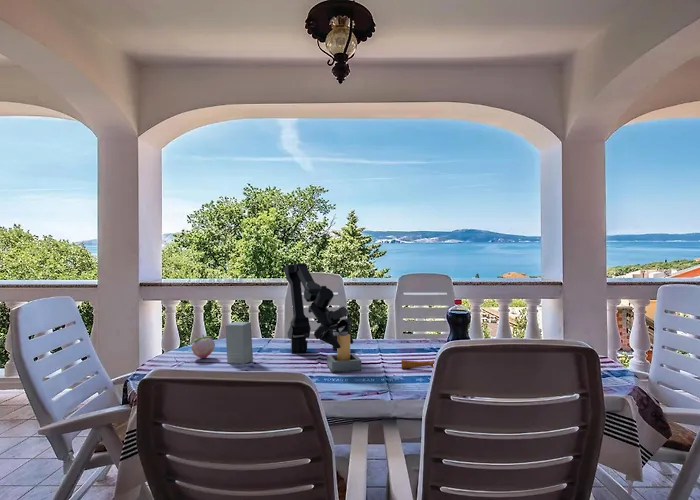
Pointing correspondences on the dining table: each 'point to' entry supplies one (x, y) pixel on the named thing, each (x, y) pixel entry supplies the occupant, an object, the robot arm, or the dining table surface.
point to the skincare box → (239, 342)
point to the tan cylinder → (343, 346)
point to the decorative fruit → (203, 346)
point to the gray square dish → (344, 364)
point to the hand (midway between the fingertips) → (346, 345)
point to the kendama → (415, 364)
